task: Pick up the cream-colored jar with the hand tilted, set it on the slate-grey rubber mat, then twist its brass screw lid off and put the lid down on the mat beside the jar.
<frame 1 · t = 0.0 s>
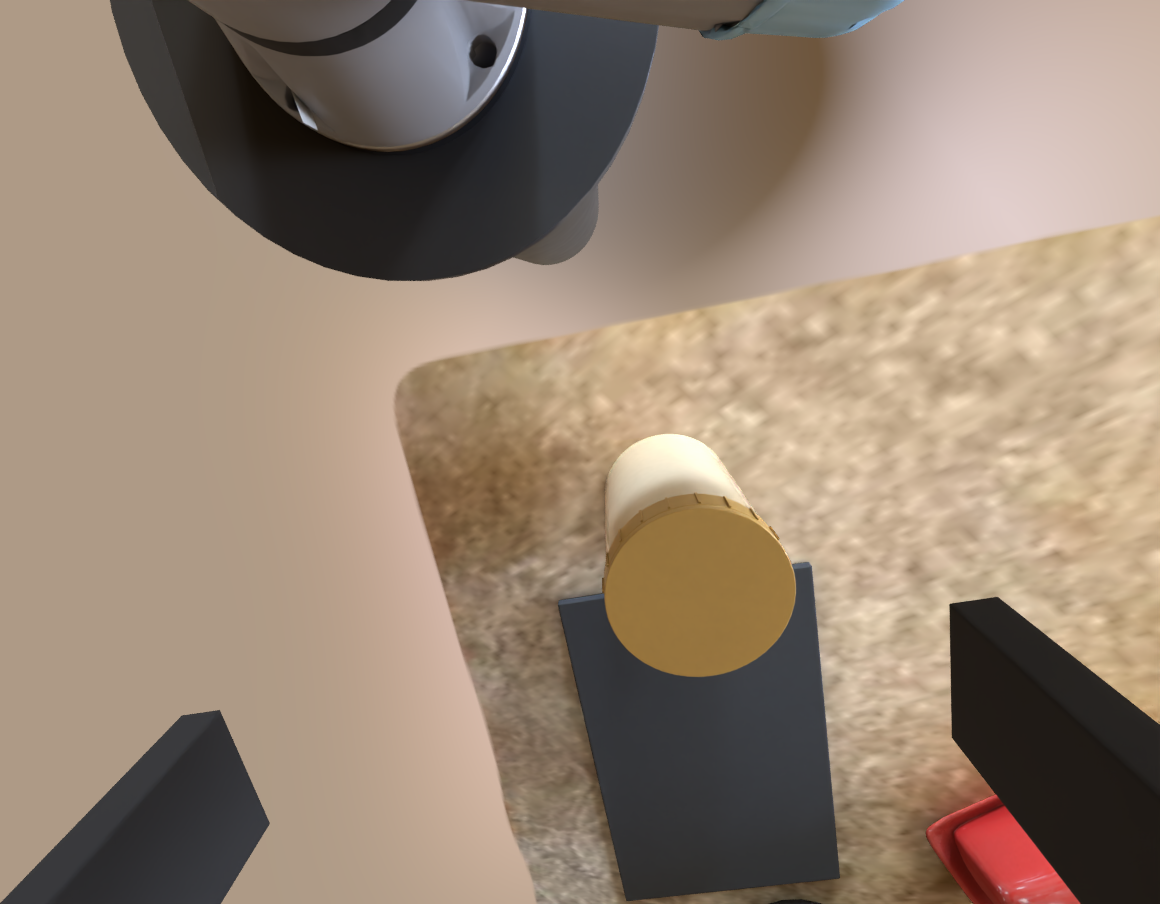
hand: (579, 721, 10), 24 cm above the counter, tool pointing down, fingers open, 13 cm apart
butter dish: (1017, 827, 41), on the counter
lid: (697, 591, 24), point 11 cm above the counter, screwed on, not yet turned
mat: (707, 745, 40), on the counter
cream-colored jar: (667, 494, 35), on the counter
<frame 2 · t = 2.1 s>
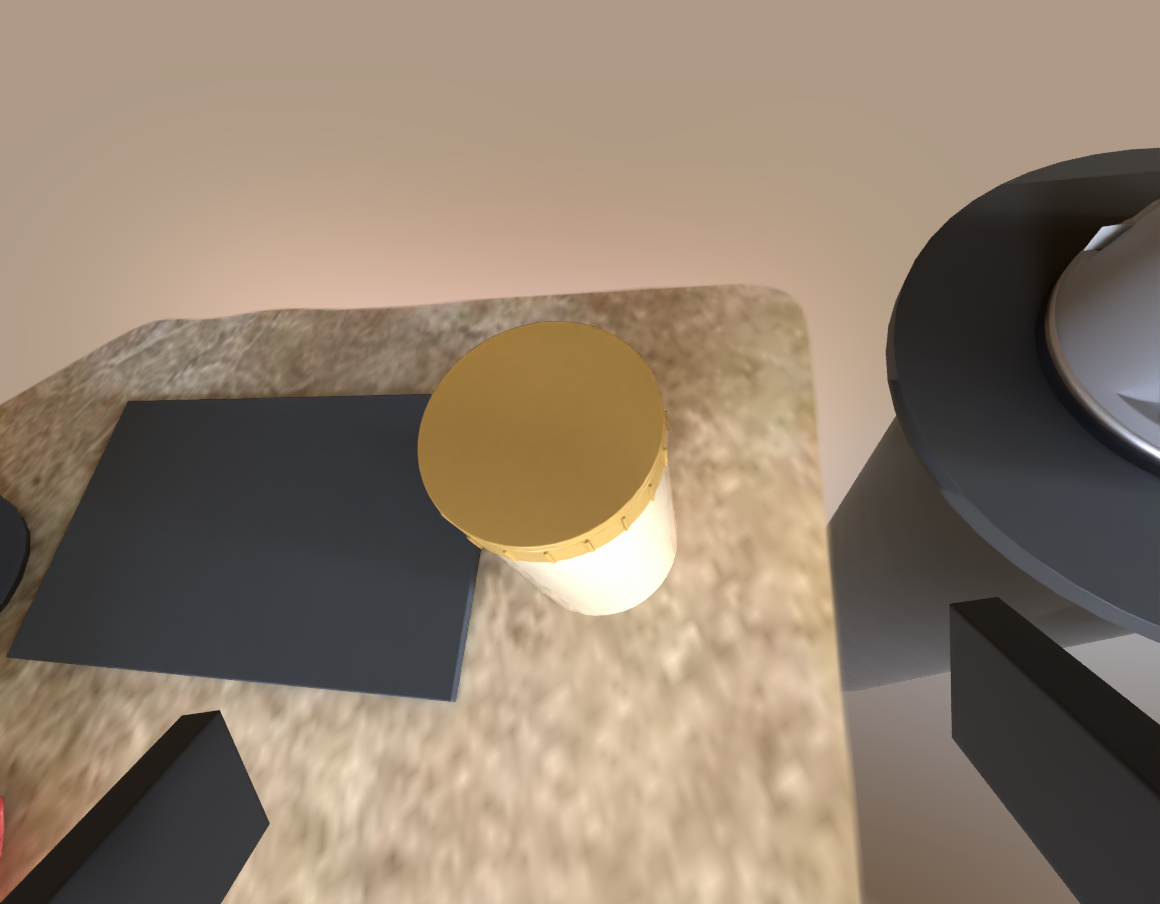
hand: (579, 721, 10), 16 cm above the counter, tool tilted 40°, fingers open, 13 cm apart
lid: (539, 429, 18), point 11 cm above the counter, screwed on, not yet turned
mat: (265, 525, 32), on the counter
cream-colored jar: (599, 536, 28), on the counter
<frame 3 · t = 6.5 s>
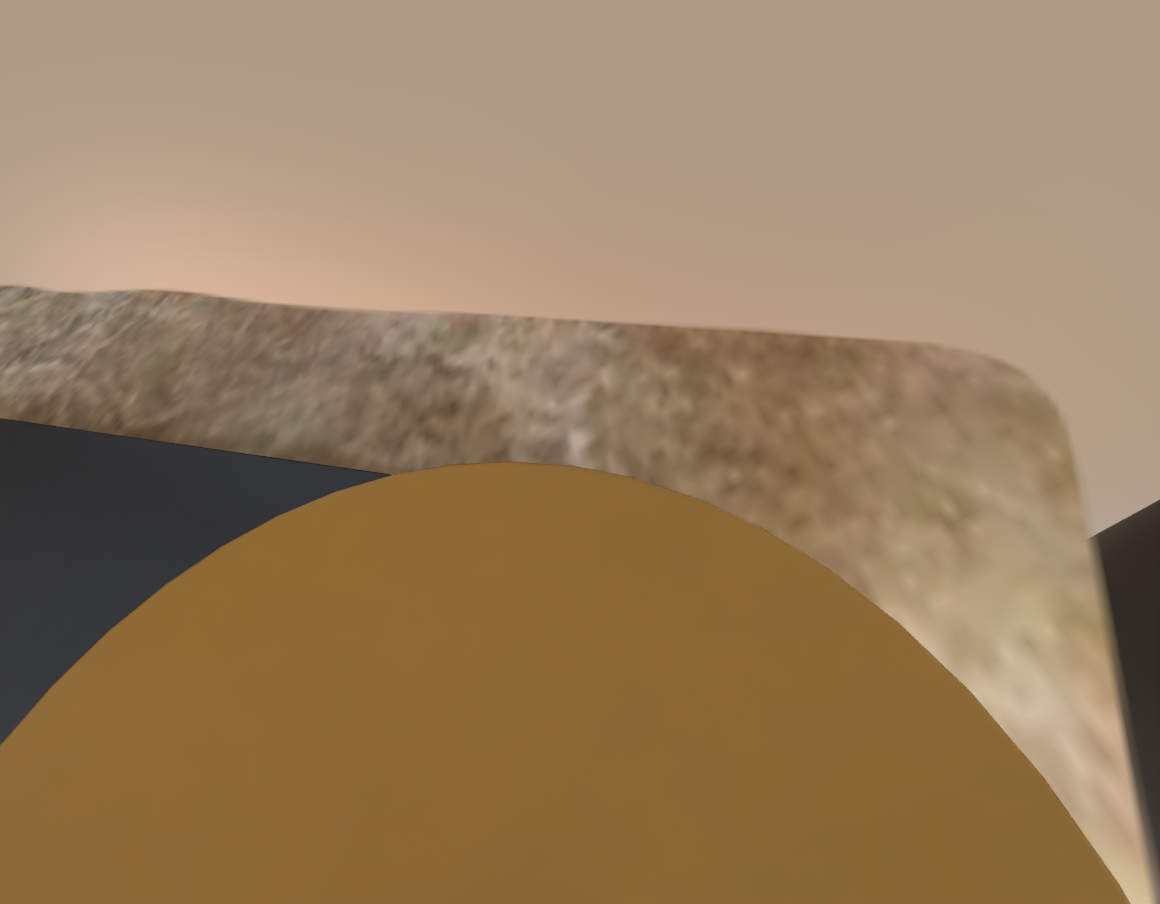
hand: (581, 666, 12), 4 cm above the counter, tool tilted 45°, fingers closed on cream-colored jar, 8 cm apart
mat: (23, 670, 18), on the counter
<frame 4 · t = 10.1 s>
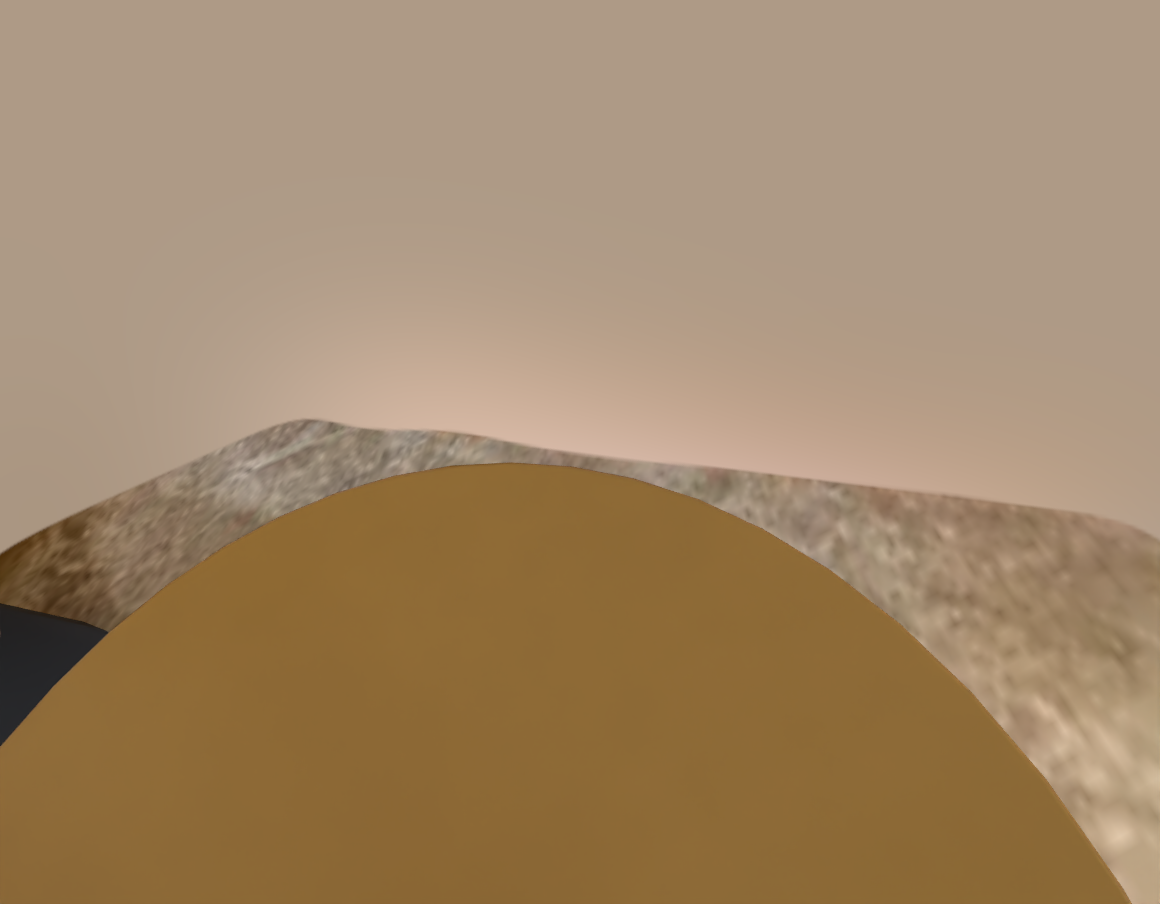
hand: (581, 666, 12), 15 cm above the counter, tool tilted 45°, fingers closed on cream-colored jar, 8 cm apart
coffee jar: (53, 737, 28), on the counter
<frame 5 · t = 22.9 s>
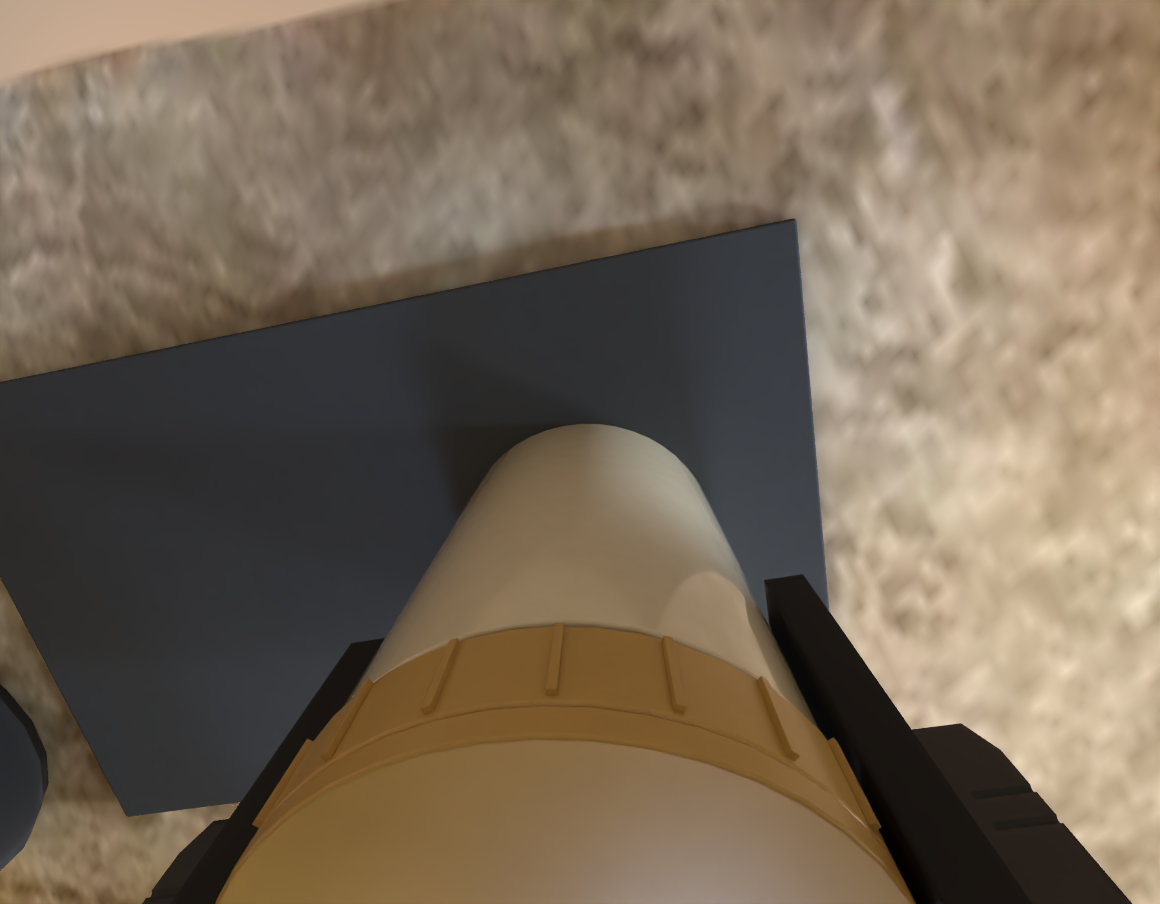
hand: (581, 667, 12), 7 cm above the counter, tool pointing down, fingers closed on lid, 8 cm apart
mat: (406, 563, 19), on the counter
cream-colored jar: (588, 544, 17), point 1 cm above the counter, touching mat
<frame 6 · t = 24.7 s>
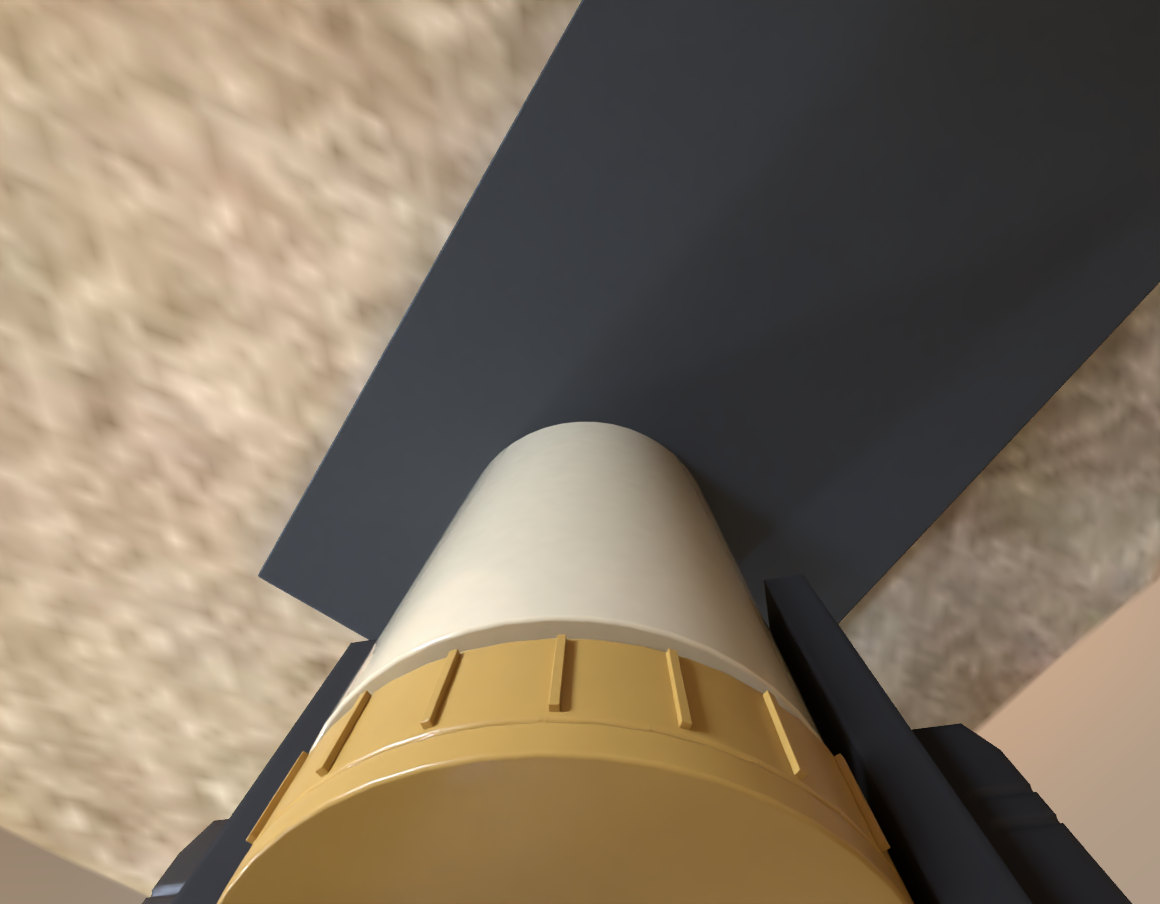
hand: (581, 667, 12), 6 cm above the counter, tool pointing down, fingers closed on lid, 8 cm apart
mat: (706, 377, 16), on the counter
cream-colored jar: (586, 542, 17), point 1 cm above the counter, touching gripper, mat
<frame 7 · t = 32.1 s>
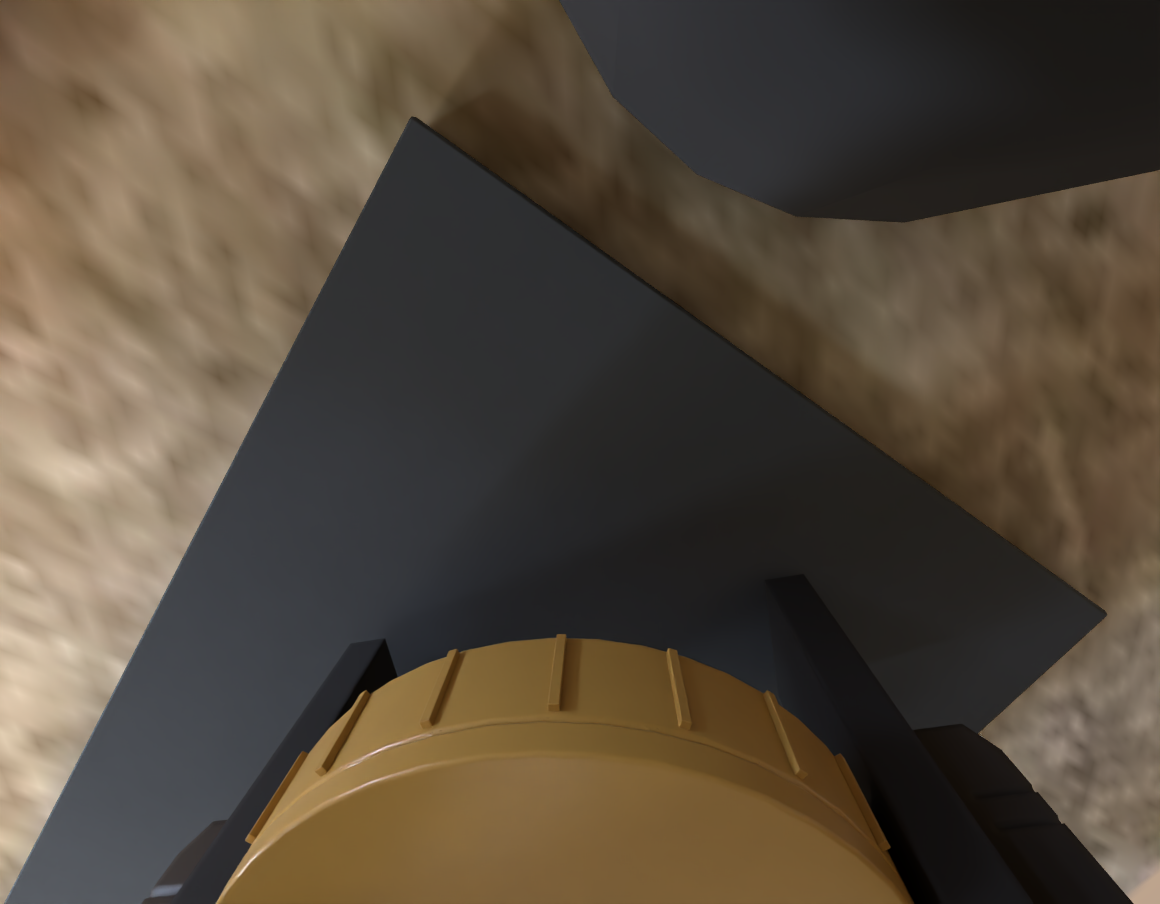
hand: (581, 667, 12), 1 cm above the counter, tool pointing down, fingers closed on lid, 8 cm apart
mat: (444, 816, 14), on the counter
when the fingers open (2 cm above the counter, at t = 41.7 s): lid drops 6 cm, resting on mat.
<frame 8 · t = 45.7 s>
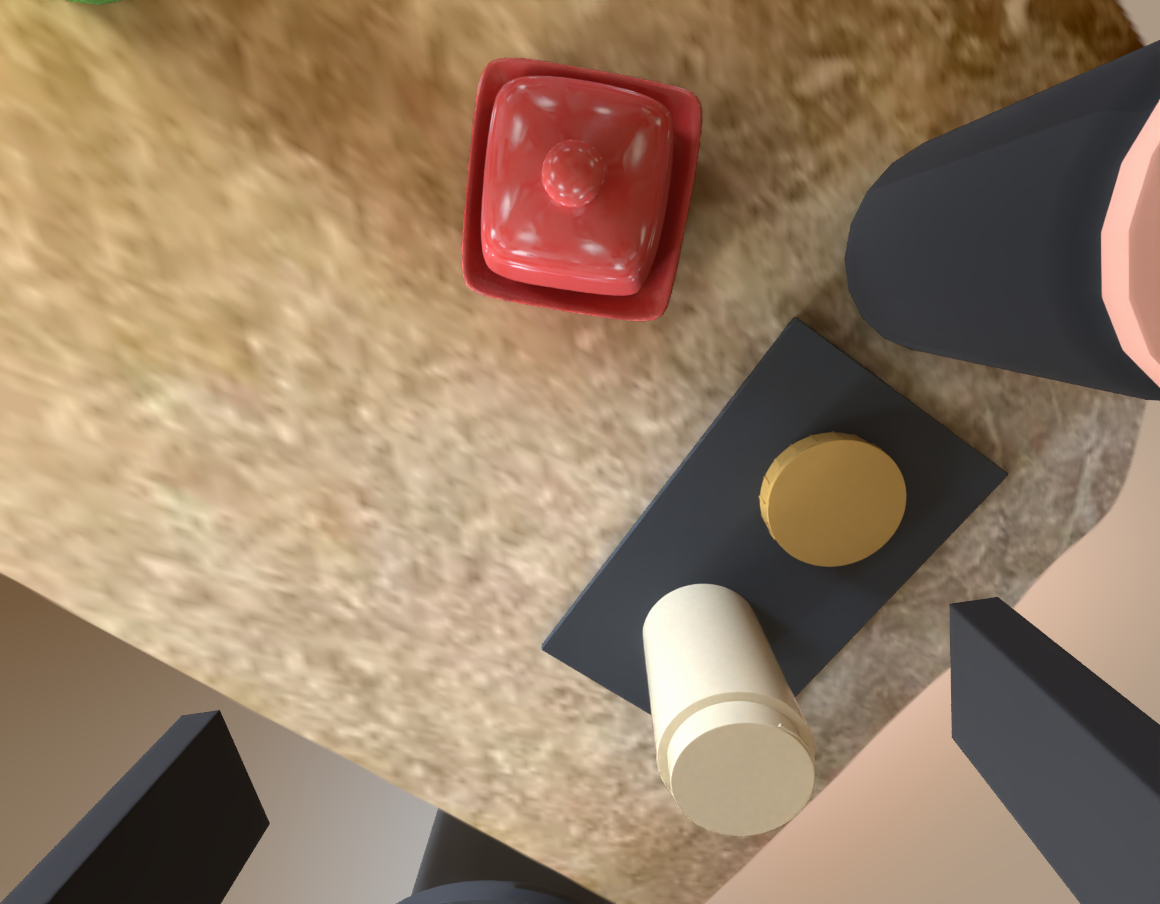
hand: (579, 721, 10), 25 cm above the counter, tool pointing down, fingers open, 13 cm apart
coffee jar: (934, 249, 31), on the counter
butter dish: (579, 201, 31), on the counter
lid: (833, 502, 33), point 2 cm above the counter, off its thread, touching mat
mat: (758, 563, 36), on the counter
cream-colored jar: (700, 635, 37), point 1 cm above the counter, touching mat
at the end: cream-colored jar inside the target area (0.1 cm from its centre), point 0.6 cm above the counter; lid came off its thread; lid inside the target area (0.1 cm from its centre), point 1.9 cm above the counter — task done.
